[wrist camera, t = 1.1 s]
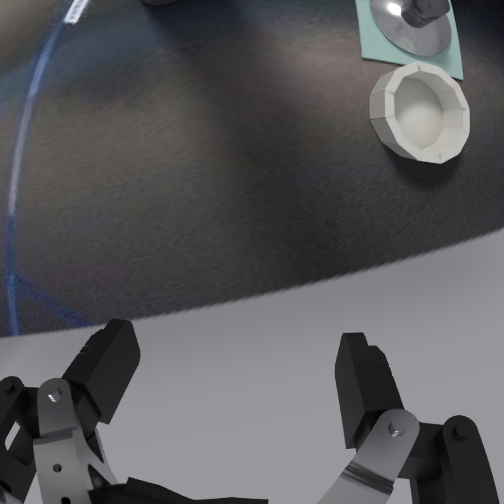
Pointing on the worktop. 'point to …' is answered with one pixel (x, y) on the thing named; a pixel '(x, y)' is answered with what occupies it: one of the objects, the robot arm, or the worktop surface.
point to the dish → (420, 113)
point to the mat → (384, 50)
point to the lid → (414, 24)
